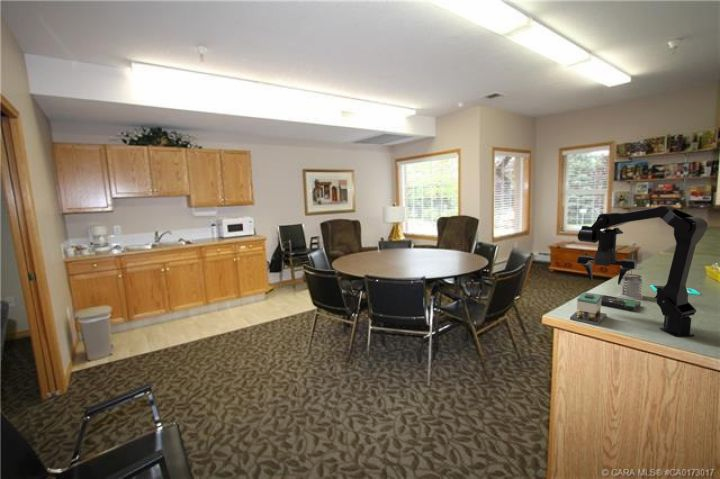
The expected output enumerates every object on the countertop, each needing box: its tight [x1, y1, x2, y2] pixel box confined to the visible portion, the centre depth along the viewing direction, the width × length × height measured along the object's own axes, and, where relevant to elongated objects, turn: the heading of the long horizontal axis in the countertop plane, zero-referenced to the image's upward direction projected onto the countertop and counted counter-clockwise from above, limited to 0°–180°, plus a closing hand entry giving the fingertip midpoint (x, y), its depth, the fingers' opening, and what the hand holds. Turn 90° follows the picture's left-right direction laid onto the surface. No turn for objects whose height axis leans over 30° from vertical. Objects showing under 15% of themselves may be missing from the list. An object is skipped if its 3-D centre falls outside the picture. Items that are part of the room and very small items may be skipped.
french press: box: [616, 242, 644, 300], centre depth 152 cm, size 10×12×25 cm
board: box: [576, 291, 603, 314], centre depth 129 cm, size 11×6×5 cm, turn 136°
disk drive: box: [601, 294, 641, 313], centre depth 143 cm, size 10×3×15 cm
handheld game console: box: [650, 284, 701, 296], centre depth 160 cm, size 10×16×1 cm, turn 60°
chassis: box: [569, 306, 607, 326], centre depth 130 cm, size 13×9×4 cm
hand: (604, 282), depth 135 cm, fingers open, 9 cm apart
